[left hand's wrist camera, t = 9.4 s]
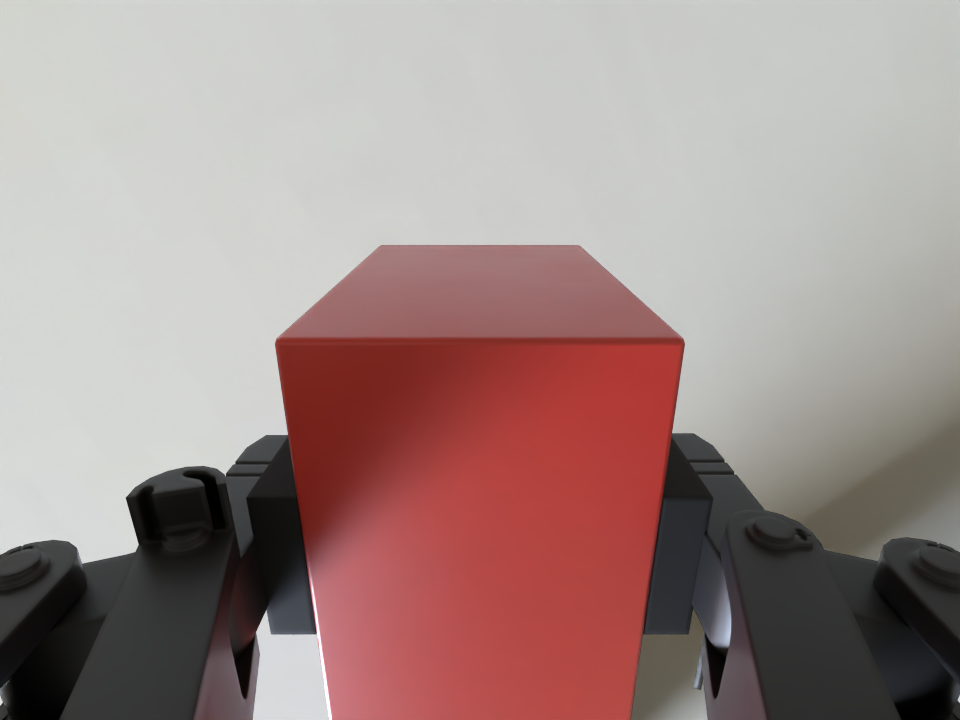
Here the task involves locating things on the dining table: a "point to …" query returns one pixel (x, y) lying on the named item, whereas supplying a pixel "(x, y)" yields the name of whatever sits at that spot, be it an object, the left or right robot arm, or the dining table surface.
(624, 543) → the block
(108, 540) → the dining table surface
